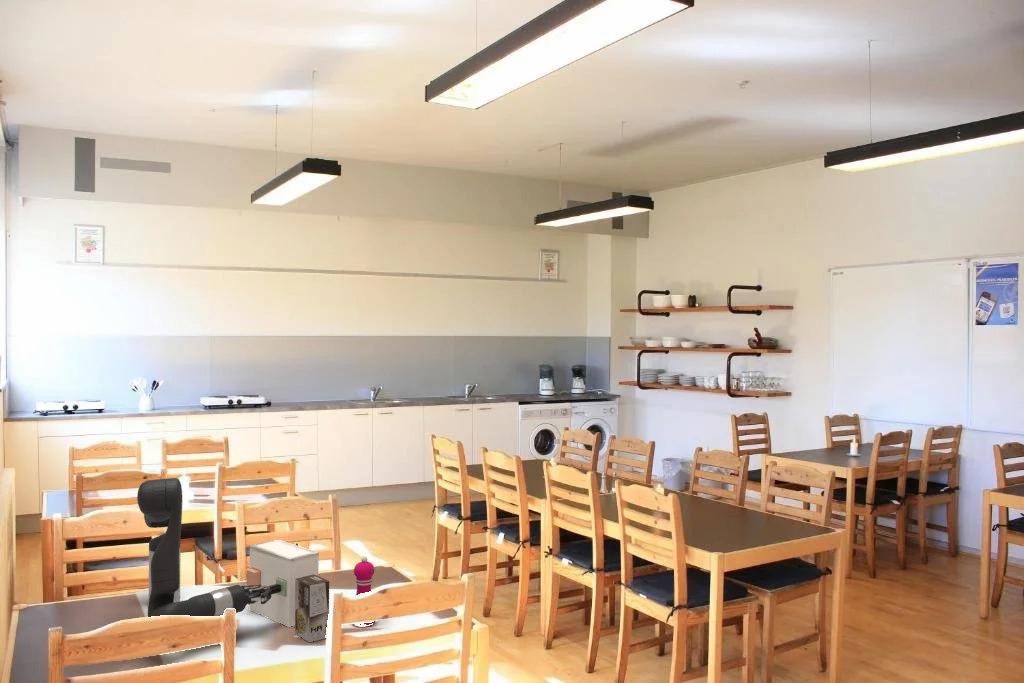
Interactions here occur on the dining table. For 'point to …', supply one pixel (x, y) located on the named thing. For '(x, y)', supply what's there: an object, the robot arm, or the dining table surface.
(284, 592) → the sage button
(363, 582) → the pepper mill
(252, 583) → the terracotta button
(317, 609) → the coffee box
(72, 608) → the dining table surface
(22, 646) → the dining table surface
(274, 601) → the button panel
